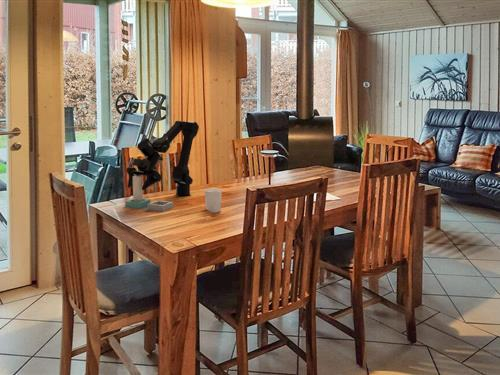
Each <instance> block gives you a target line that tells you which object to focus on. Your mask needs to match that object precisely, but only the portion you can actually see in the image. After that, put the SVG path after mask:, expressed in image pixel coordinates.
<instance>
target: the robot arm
mask: <svg viewBox="0 0 500 375" xmlns="http://www.w3.org/2000/svg"><path fill="white" fill-rule="evenodd" d="M199 127H200V126H199V124H198V122H197V121H187V120H186V121H184V120H175V121H174V124H172V126H170V128H169V129H168V130H167V131H166V133H165V134H163V135H161V137H159V138H156V139H155V140H154V141H152V142H151V140H150V139H149V138H144V139H143V140H141V141H140V142H138V144H137V145H136V146H137V149H138V151H139V152H140V153H141V154H142V155H143V156H144V157H146V158H143V159H141V158H135V157H134V158H133V160H132V161H133V162H132V166H128V167H127V168H126V169H125V172H126V173H127V175H128V183H127V188H129V189H130V188H131V187H133V176H142V177H143V176H144V177H146V179H145V181H144V183H143V184H142V190H143V191H145V190H146V189H147V188H149V187H150V186H152V185H154V184H156V183H159V182H161V180H162V175H161V173H159V171H158V170H156V169H157V167H156V166H157V164H158V163H159V161H164V159H163V158H164V157H163V155H162V154H165V153H167V152H168V151H169V149H170V147H171V143H172V142H173V140H175V138H177V137H178V135H179V134H180V133H182V136H183V138H182V143H181V144H182V145H181V149H180V154H179V159H178V162H177V163H178V164H177V165H174V166H173V168H172V171H171V172H172V173H171V174H172V176H171V177H172V179H173V184H176V186H175V194H176V195H177V196H178V197H188V196H192V195H191V188H190V187H191V185H193V182H194V180H193V178H192V177H191V176H190V169H189V162H190V155H191V150H192V147H193V146H192V145H193V142H194V141H193V140H194V138H196V136H197V135H198V133H199V130H200V128H199ZM133 166H135V167H133Z"/></svg>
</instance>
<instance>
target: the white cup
mask: <svg viewBox="0 0 500 375" xmlns="http://www.w3.org/2000/svg"><path fill="white" fill-rule="evenodd" d="M222 190H223V189H221V188H216V187H215V188H207V189H206V188H205V189H204V199H205V200H204V202H205V209H206V211H208V212H210V213H212V214H213V213H221V208H222V192H223V191H222Z"/></svg>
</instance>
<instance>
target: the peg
mask: <svg viewBox="0 0 500 375" xmlns="http://www.w3.org/2000/svg"><path fill="white" fill-rule="evenodd" d="M142 187H143V176H142V175H140V176H133V185H132V199H133V202H142V201H143V199H144V197H143V195H144V193H143V191H144V190H142Z"/></svg>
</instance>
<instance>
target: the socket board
mask: <svg viewBox="0 0 500 375" xmlns="http://www.w3.org/2000/svg"><path fill="white" fill-rule="evenodd" d="M124 203H125V204H124V206H123V208H127V209H135V210H143V211H151V212H156V213H157V212H158V213H164V212H167V211H168V210H169V211H170V210H171V209H173V208H175V206H174V202H173V201H166V200H155V201H152V202H151V199H149V198H143V201H142V202H133V198H132V199H128V200H125V201H124Z"/></svg>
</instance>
